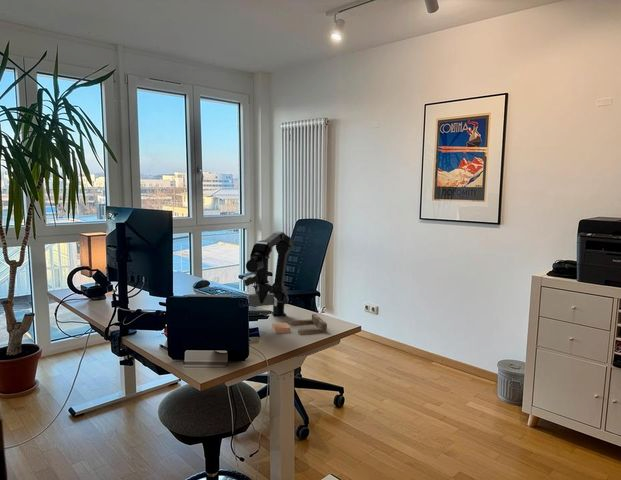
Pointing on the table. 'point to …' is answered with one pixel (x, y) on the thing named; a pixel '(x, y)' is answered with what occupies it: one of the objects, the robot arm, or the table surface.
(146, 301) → the table surface
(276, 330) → the tile
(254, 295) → the scraper
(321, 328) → the tile rack
